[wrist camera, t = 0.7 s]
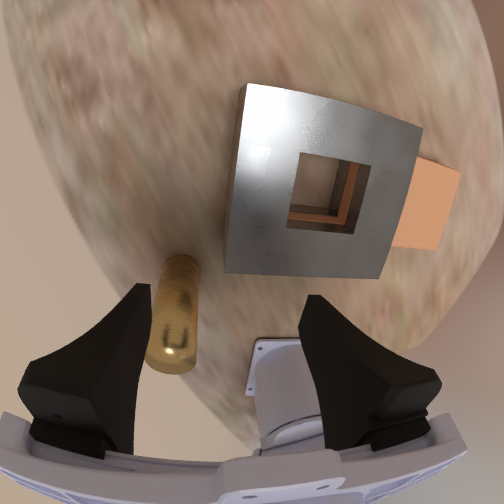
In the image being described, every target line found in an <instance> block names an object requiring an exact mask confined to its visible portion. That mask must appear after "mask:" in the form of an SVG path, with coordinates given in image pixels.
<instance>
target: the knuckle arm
mask: <svg viewBox="0 0 504 504" xmlns="http://www.w3.org/2000/svg"><path fill="white" fill-rule="evenodd" d="M359 165H360V163H356V162H352V161H350V164H349V169H348V173H347V178H346V182H345V186H344V191H343V195H342V199H341V203H340V207H339V211H338V215H337V217H333V216H325V215H316V214H307V213H298V212H289V213H288V218H287V219H293V220H304V221H313V222H323V223H332V224H341V225H345V221H346V218H347V214H348V210H349V206H350V202H351V198H352V194H353V190H354V186H355V182H356V178H357V173H358V169H359ZM460 176H461V172H459V171H456V170H454V169H452V168H450V167H447V166H445V165H443V164H440V163H438V162H435V161H432V160H429V159H426V158H423V157H420V156H417V159H416V163H415V167H414V171H413V175H412V179H411V183H410V186H409V190H408V194H407V197H406V201H405V204H404V207H403V211H402V214H401V217H400V220H399V223H398V226H397V229H396V233H395V235H394V238H393V241H392V244H391V246H400V247H410V248H419V249H429V250H436V249H437V246H438V244H439V241H440V239H441V236H442V233H443V230H444V228H445V225H446V222H447V219H448V216H449V213H450V210H451V207H452V204H453V200H454V197H455V194H456V190H457V187H458V183H459V180H460Z"/></svg>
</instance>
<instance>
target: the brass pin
mask: <svg viewBox="0 0 504 504" xmlns="http://www.w3.org/2000/svg"><path fill="white" fill-rule="evenodd" d="M199 281H200V268H199V265H198V263H197V262H196V261H195V260H194V259H193V258H191V257H189V256H187V255H174V256H171V257H170V258H168V259H167V260H166V261H165V263H164V265H163V268H162V272H161V276H160V280H159V284H158V288H157V292H156V296H155V300H154V304H153V309H152V325H151V332H150V339H149V342H148V346H147V350H146V354H145V358H144V360H145V362H146V363H147V364H148V365H149V366H150V367H151V368H153V369H155V370H156V371H159V372H162V373H165V374H182V373H185V372H188V371H190V370H191V369H192V368H193V367H194V366H195V364H196V350H197V321H198V299H199Z"/></svg>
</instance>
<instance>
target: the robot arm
mask: <svg viewBox="0 0 504 504" xmlns="http://www.w3.org/2000/svg"><path fill="white" fill-rule="evenodd" d="M151 325H152V308H151V290H150V284H142V283H137V284H135V285H134V286H133V288H132V289H131V290H130V291H129V292H128V293H127V294H126V296H125V297H124V298H123V299H122V300H121V301H120V302H119V303H118V304H117V305H116V306H115V307H114V308H113V309H112V311H110V312H109V313H108V314H107V315H106V316H105V317H104V318H103V319H102V320H101V321H100V322H99V323H97V324H96V325H95V326H94V327H93V328H91V329H90V330H89V331H88V332H86V333H85V334H84V335H82V336H81V337H79V338H77V339H76V340H74V341H73V342H71V343H70V344H68V345H66V346H64V347H63V348H61V349H59V350H57V351H55V352H53V353H51V354H49V355H47V356H44V357H41V358H39V359H37V360H34V361H31V362H30V363H29V365H28V367H27V369H26V370H25V373H24V375H23V377H22V380H21V382H20V384H19V387H18V394H19V397H20V398H21V400H22V402H23V403H24V404H25V406H26V407H27V409H28V410H29V411H30V413H31V414H32V415H33V417H34V419H33V422H32V424H31V423H30V422H28V421H27V420H25V419H23V418H20V417H18V416H15V415H12V414H10V413H8V412H3V414H2V417H1V420H0V471H1V472H2V473H4V474H5V475H6V476H8V477H9V478H10V479H12V480H13V481H15V482H16V483H18V484H19V485H22V486H24V487H26V488H28V489H31V490H33V491H35V492H38V493H40V494H43V495H45V496H47V497H50V498H53V499H55V500H58V501H61V502H64V503H66V504H375V502H376V501H377V500H380V499H382V498H385V497H387V496H389V495H392V494H394V493H396V492H399V491H401V490H404V489H406V488H408V487H410V486H412V485H415V484H417V483H419V482H421V481H423V480H425V479H427V478H429V477H432V476H434V475H436V474H437V473H439V472H440V471H442V470H443V469H445V468H446V467H447V466H449V465H450V464H452V463H453V462H454V461H456V460H457V459H458V458H460V457H461V456H462V455H463V454H465V453H466V452H467V451H468V448H467V446H466V444H465V442H464V440H463V438H462V436H461V434H460V432H459V430H458V429H457V427H456V425H455V423H454V421H453V419H452V418H451V416H450V414H449V413H445V414H442V415H439V416H437V417H434V418H432V419H431V420H429V421H427V419H426V417H425V416H427V415H428V412H427V410H426V407H427V406H428V405H429V404H430V402H431V401H432V400H433V399H434V398H435V397H436V396H437V394H438V393H439V391H440V389H441V387H442V382H441V380H440V379H439V377H438V375H437V374H436V372H435V371H434V369H431V368H428V367H425V366H423V365H419V364H417V363H414V362H412V361H410V360H408V359H405V358H403V357H401V356H399V355H397V354H395V353H394V352H392V351H390V350H388V349H386V348H385V347H383V346H382V345H380V344H379V343H377V342H376V341H374V340H373V339H371V338H370V337H368V336H367V335H366V334H364V333H363V332H362V331H361V330H359V329H358V328H357V327H356V326H355V325H353V324H352V323H351V322H350V321H349V320H348V319H347V318H345V317H344V316H343V315H342V314H341V313H340V312H339V311H338V310H337V309H336V308H335V307H333V306H332V305H331V304H330V303H329V302H328V301H327V300H326V299H325V298H324V297H322V296H321V295H308V298H307V301H306V304H305V307H304V310H303V313H302V316H301V319H300V322H299V325H298V330H299V336H300V339H259V340H257V341H256V342H255V347H254V352H253V356H252V361H251V366H250V370H249V375H248V379H247V384H246V389H245V395H247V396H254V400H255V407H256V413H257V420H258V426H259V432H260V436H261V438H260V443H261V448H259V449H256V450H255V451H254V452H253V455H252V456H249V457H240V458H234V459H231V460H228V461H225V462H200V461H182V460H169V459H159V458H150V457H142V456H135V455H133V452H134V447H133V445H134V443H133V441H134V421H135V408H136V398H137V389H138V382H139V377H140V373H141V369H142V365H143V362H144V358H145V354H146V350H147V346H148V342H149V339H150V332H151ZM259 347H260V348H259Z"/></svg>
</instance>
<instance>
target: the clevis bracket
mask: <svg viewBox="0 0 504 504" xmlns="http://www.w3.org/2000/svg"><path fill="white" fill-rule="evenodd" d="M422 132H423V128H421V127H418V126H416V125H413V124H410V123H408V122H405V121H402V120H399V119H397V118H394V117H391V116H388V115H385V114H382V113H379V112H376V111H372V110H369V109H366V108H363V107H359V106H356V105H352V104H349V103H345V102H341V101H337V100H333V99H329V98H325V97H321V96H316V95H312V94H307V93H303V92H298V91H292V90H287V89H282V88H276V87H270V86H263V85H256V84H249V83H248V84H246V85H245V86H243V87H241V89H240V96H239V103H238V111H237V118H236V125H235V133H234V141H233V148H232V156H231V165H230V173H229V181H228V190H227V199H226V208H225V217H224V226H223V236H222V246H223V262H224V273H241V274H260V275H281V276H303V277H328V278H357V279H379V277H380V274H381V272H382V269H383V266H384V264H385V261H386V258H387V256H388V253H389V250H390V247H391V244H392V241H393V238H394V235H395V233H396V229H397V226H398V223H399V220H400V217H401V214H402V211H403V207H404V204H405V201H406V197H407V194H408V190H409V186H410V183H411V179H412V175H413V171H414V167H415V163H416V159H417V155H418V151H419V146H420V142H421V137H422ZM300 152H303V153H309V154H315V155H321V156H326V157H332V158H337V159H340V164H339V169H338V173H337V178H336V182H335V187H334V191H333V196H332V200H331V204H330V208H329V209H326V208H318V207H310V206H301V205H292V204H290V203H291V198H292V193H293V187H294V182H295V177H296V171H297V166H298V160H299V155H300ZM350 161H352V162H356V163H360V165H359V169H358V173H357V178H356V182H355V186H354V190H353V194H352V198H351V202H350V206H349V210H348V214H347V218H346V221H345V225H341V224H332V223H323V222H313V221H304V220H293V219H287V218H288V213H289V212H298V213H307V214H316V215H325V216H333V217H337V215H338V211H339V207H340V203H341V199H342V195H343V191H344V186H345V182H346V178H347V173H348V169H349V164H350Z"/></svg>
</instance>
